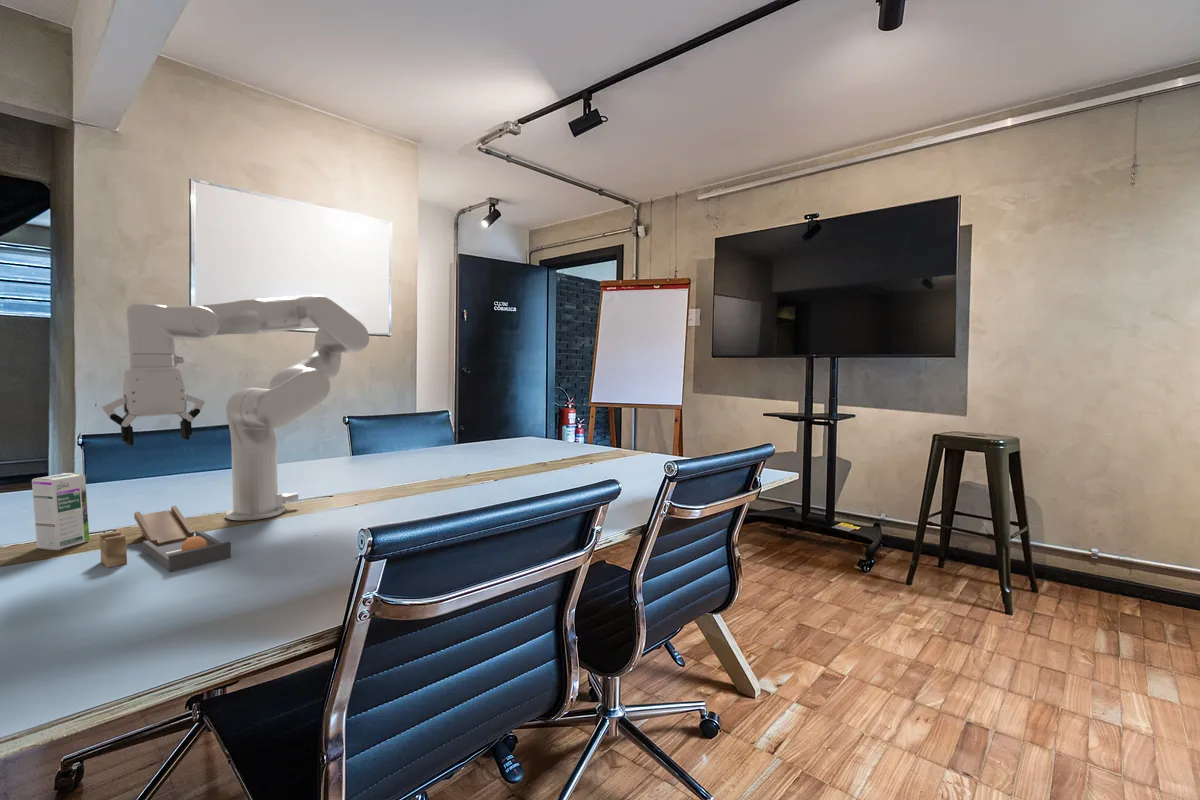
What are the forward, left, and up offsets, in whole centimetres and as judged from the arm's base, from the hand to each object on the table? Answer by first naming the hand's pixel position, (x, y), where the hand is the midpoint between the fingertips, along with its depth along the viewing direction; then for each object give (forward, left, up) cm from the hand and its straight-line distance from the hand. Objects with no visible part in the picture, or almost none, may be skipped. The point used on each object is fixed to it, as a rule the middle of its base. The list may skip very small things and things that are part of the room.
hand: (158, 441), depth 117 cm
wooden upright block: (+10, +13, -21) cm, 26 cm away
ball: (0, +22, -18) cm, 29 cm away
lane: (0, +17, -21) cm, 27 cm away
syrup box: (+14, -7, -21) cm, 26 cm away
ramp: (0, +4, -21) cm, 21 cm away
